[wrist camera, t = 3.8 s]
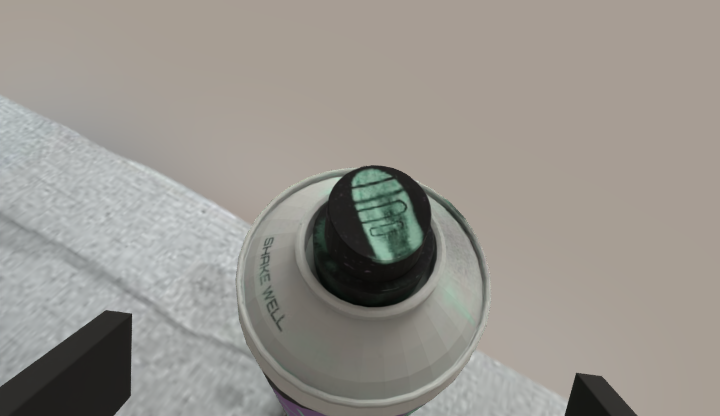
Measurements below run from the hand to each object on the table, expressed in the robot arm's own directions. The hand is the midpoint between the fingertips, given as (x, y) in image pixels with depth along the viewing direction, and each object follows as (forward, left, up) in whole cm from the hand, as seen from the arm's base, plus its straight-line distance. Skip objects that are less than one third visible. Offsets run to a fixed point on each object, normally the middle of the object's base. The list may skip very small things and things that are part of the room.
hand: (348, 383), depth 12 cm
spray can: (-1, +1, -13) cm, 13 cm away
